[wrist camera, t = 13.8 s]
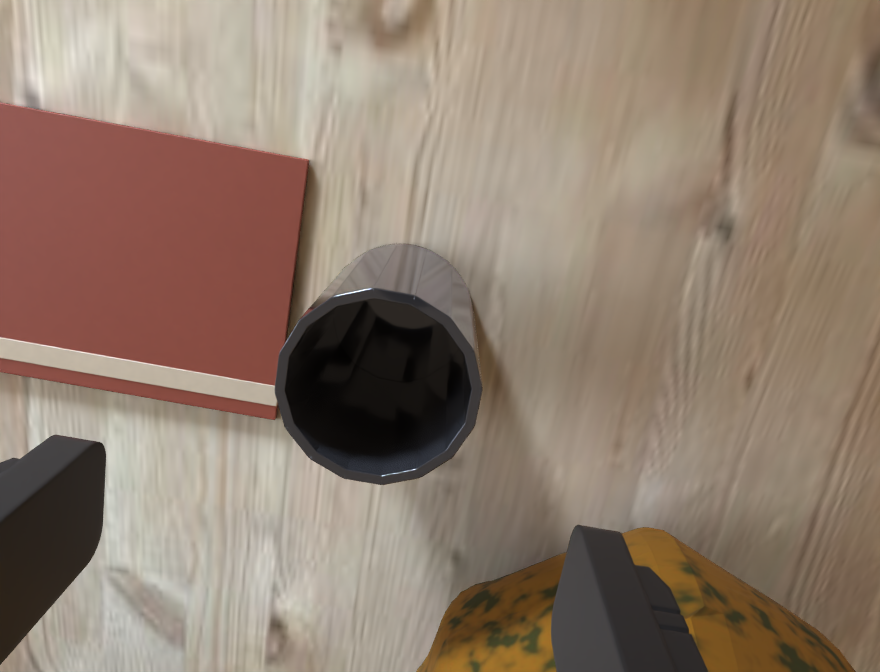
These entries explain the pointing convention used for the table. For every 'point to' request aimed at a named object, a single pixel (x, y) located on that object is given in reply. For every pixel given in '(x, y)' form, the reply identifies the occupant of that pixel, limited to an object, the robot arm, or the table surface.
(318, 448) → the black cup
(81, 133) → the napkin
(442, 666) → the decorative pumpkin
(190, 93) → the table surface
